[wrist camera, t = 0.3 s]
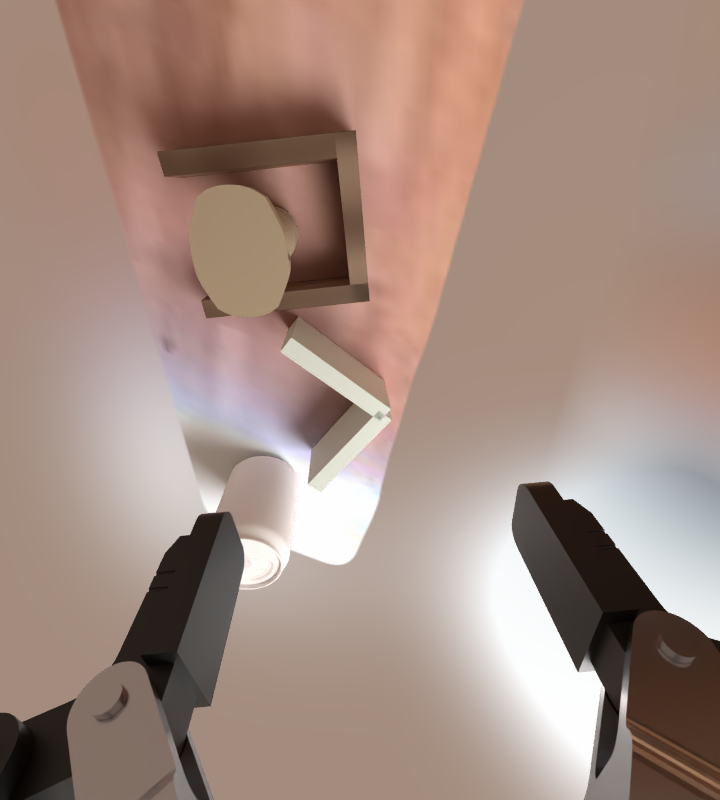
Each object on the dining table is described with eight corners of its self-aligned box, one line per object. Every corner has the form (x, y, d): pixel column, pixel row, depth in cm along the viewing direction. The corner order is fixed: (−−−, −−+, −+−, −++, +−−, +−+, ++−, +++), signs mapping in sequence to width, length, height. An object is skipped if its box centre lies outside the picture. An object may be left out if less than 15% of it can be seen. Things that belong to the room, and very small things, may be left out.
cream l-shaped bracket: (286, 317, 36) (277, 339, 31) (379, 307, 36) (386, 327, 31) (313, 456, 44) (309, 492, 39) (389, 449, 44) (395, 483, 39)
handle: (256, 269, 34) (205, 318, 21) (245, 186, 31) (176, 185, 18) (310, 267, 34) (293, 316, 21) (304, 186, 31) (279, 183, 18)
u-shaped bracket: (175, 155, 30) (157, 151, 27) (353, 136, 30) (355, 130, 27) (217, 307, 36) (206, 318, 33) (366, 291, 36) (369, 301, 32)
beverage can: (272, 514, 49) (253, 603, 38) (217, 482, 46) (181, 569, 35) (313, 476, 46) (305, 562, 35) (258, 440, 43) (231, 521, 33)
